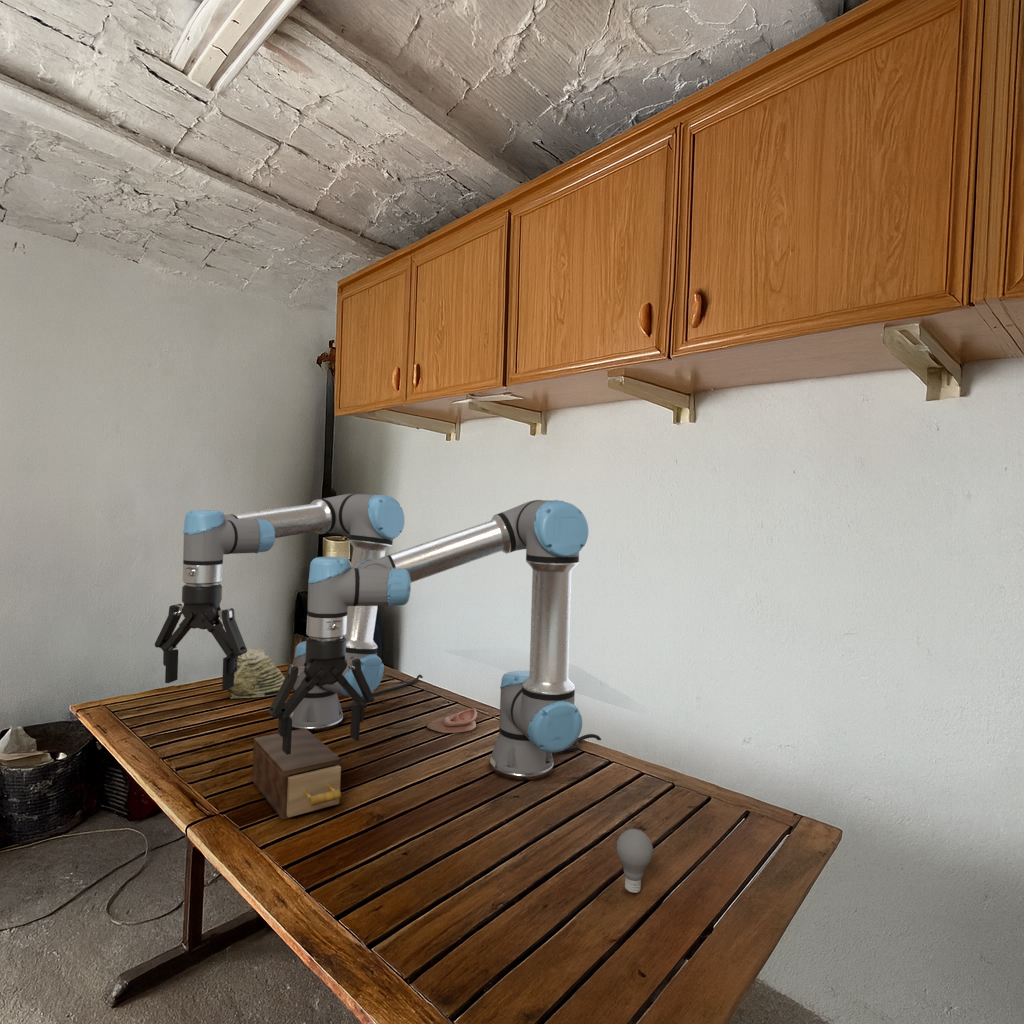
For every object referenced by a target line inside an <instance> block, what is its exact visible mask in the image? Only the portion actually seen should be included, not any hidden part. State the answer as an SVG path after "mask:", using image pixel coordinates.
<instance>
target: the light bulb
mask: <svg viewBox="0 0 1024 1024" xmlns="http://www.w3.org/2000/svg"><path fill="white" fill-rule="evenodd" d="M615 849H616V854H617V857H618V859H619V861H620V863H621V865H622V867H623V873H624V874H623V875H624V876H625V878H624V888H625V890H627V891H628V892H630V893H634V894H635V893H639V892H640V891H641V889H642V887H641V886H642V879H643V877H644V875H645V871H646V868H647V867H648V866H649V864H650V863H651V861H652V859H653V855H654V847H653V843H652V841H651V838H649V836H648V835H647V834H646V833H645V832H643V831H642V830H641V829H636V828H629V829H627V830H625V831H623V832H622V833H621V834H620V835H619V837H618V839H617V841H616V847H615Z"/></svg>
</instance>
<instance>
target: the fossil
mask: <svg viewBox="0 0 1024 1024" xmlns="http://www.w3.org/2000/svg"><path fill="white" fill-rule="evenodd" d="M246 648H247V652H246V653H244V654H242V655H239V656H238V664H237V665H238V666H237V671H236V672H234V686H233V687H231V688H229V689H226V691H228V693H229V698H230V699H250V698H264V697H271V696H276V695H277V693H278V691H279V689H280V687H281V685H282V684H283V682H284V680H285V678H286V676H284V674H283V673H282V672H281V669H279V668H278V667H277V665H276V663H275V662H274V660H273V659H272V658H271V657H270V656H269V655H268V654H267V653H266V652H265V650H264V649H263V648H260V647H258V648H251V647H247V646H246Z"/></svg>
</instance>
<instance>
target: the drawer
mask: <svg viewBox="0 0 1024 1024" xmlns="http://www.w3.org/2000/svg"><path fill="white" fill-rule="evenodd" d="M341 774H342V767H341V765H340V766H339V765H337V766H333V767H331V766H327V767H323V768H319V769H314V770H310V771H306V772H301V773H297V774H293V775H289V777H288V791H287V816H288V817H291V818H293V817H292V816H295V817H297V816H296V815H298V816H300V815H299V814H302V815H304V814H303V813H305V814H308V813H307V812H309V813H311V812H310V811H313V812H315V811H314V810H316V811H319V810H318V809H320V810H322V809H321V808H324V809H326V808H325V807H327V808H330V807H329V806H331V807H333V806H332V805H335V806H337V805H336V804H338V805H339V804H340V801H341V797H342V792H341V779H342V778H341V776H342V775H341Z"/></svg>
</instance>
